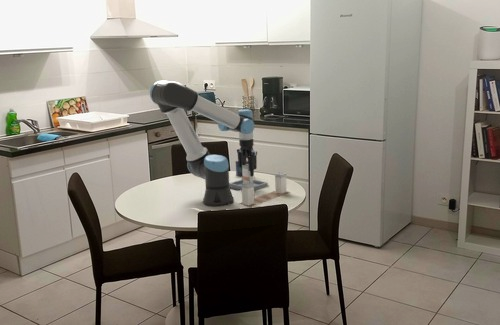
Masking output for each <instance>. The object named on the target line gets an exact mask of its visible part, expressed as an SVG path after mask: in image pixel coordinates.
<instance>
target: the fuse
mask: <svg viewBox="0 0 500 325" xmlns="http://www.w3.org/2000/svg"><path fill="white" fill-rule="evenodd" d="M254 198H255V190H254V184H253V183H249V182H247V183H244V184H242V190H241V199H242V200H241V202H243V204H245V205H248V206H249V205H251V204H254ZM245 205H244V206H245ZM248 206H247V207H248Z"/></svg>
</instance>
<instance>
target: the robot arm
mask: <svg viewBox="0 0 500 325" xmlns="http://www.w3.org/2000/svg"><path fill="white" fill-rule="evenodd" d="M149 97H150V99H151V101H152V102H153V103H154V104H155V105H157V106H158V108H159V110H160V112H161V113H162V114H165V115H166V117H167V119H168V120H169V122H170V124H171V127H172V128H173V130H174V132H175V134H176V135H177V138H178V140H179V141H180V143H181V145H182V147H183V149H184V150H185V153H186V158H185V159H186V161H187V164H186V166H187V169H188V171H189V173H190V174H192V175H194V176H195V177H197V178H200V179H204V181H205V191H204V195H203V198H202V204H203V205H204V206H207V207H213V208H217V207H218V208H220V207H226V206H229V205H230V206H231V205H232V204H233V203H234V202H235V200H234V196H233V194H232V191H231V188H230V187H229V183H230V173H229V170H230V169H229V168H230V167H229V166H230V165H229V160H228V158H227V157H226V156H224V155H221V154H210V152H209V149H208V148H207V147H206V146H205V147H204V146H203V145H202V143H201V141H200V138H199V137H198V134H197V133H196V131H195V128H194V127H193V125H192V123H191V121H190V119H189V117H188V115H187V113H186V111H187V112H190V111H192V112H195V113H197V114H199V115H201V116H204V117H205V118H208V119H210V120H212V121H215V122H217V127H218V129H219V131H221V132H228V131H230V132H236V133H238V138H239V147H240V148H238V149H236V153H237V161H238V166H239V167H240V168H241V169H242V165H245V164H246V160H247V161H248V164H249V170H248V173H249V182H253V179H254V175H255V171H254V170H256V169H257V155H258V151H255V150H254V148H253V147H254V145H255V144H254V139H253V138H254V130H255V122H254V121H253V118H254V117H253V116H254V115H253V111H252V110H251V109H239V110H238V111H237V113H236V112H233V111H232V110H229V109H227V108H225V107H223V106H221V105H219V104H217V103H215V102H212V101H211V100H209V99H206V98H205V97H203V96H201V95H199V93H198V92H197V91H196V90H193V89H192V88H190V87H188V86H187V85H184V84H183V83H181V82H179V81H175V80H166V79H161V80H158V81H155V82H154V83H153V84H152V85H151V86H150V90H149ZM241 177H243V171H242V176H241Z"/></svg>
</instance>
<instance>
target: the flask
mask: <svg viewBox="0 0 500 325" xmlns="http://www.w3.org/2000/svg"><path fill="white" fill-rule="evenodd" d="M246 164H248V159H246ZM235 175H236V176H238V177H239V176H240V177H243V176H242V169H241V168H240V167H239V166H238V160H235Z"/></svg>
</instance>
